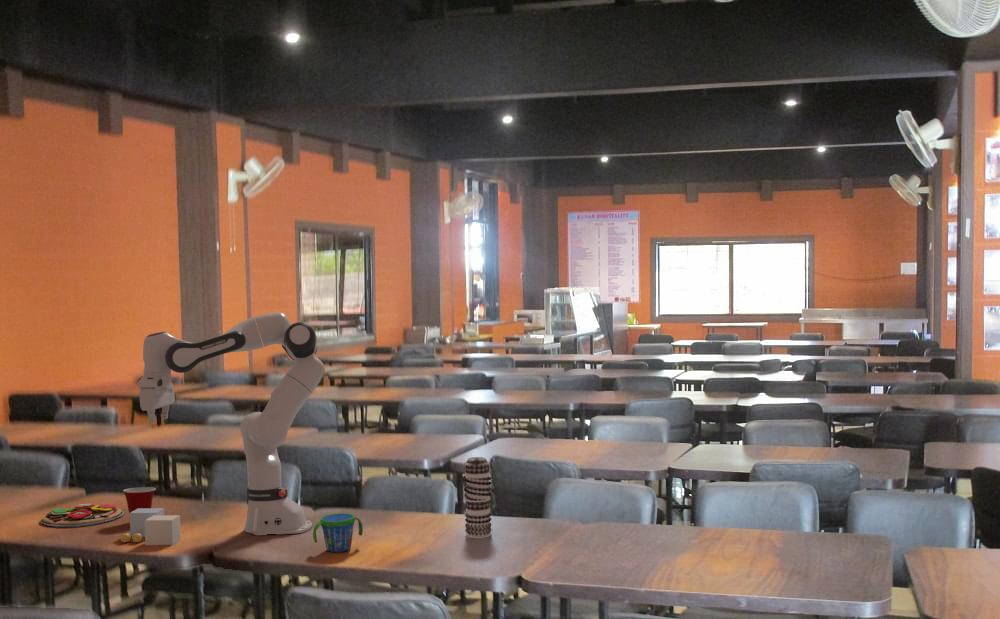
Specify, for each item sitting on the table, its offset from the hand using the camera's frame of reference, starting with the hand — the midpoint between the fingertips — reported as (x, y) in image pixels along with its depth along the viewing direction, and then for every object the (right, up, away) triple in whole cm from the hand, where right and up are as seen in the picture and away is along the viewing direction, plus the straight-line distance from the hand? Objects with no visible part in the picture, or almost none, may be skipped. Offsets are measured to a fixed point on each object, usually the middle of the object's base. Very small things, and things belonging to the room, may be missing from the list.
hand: (158, 420), depth 332 cm
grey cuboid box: (+7, -38, -16) cm, 42 cm away
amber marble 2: (-1, -38, -16) cm, 41 cm away
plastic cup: (-11, -37, +12) cm, 40 cm away
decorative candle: (+109, -36, -15) cm, 116 cm away
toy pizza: (-34, -38, +19) cm, 55 cm away
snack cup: (+66, -37, -29) cm, 81 cm away
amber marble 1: (-5, -38, -16) cm, 41 cm away
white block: (-2, -37, -6) cm, 38 cm away
